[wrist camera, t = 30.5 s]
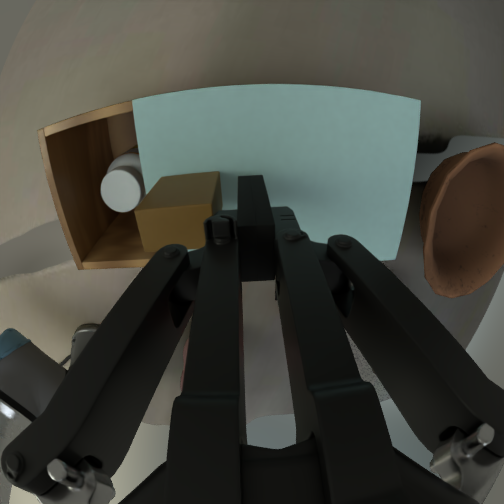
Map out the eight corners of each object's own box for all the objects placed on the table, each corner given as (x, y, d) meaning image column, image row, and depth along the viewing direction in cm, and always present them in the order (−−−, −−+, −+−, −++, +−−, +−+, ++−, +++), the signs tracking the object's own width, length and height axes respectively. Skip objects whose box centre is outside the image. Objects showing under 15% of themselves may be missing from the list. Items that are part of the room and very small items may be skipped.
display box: (122, 211, 34) (78, 269, 23) (103, 110, 26) (36, 130, 15) (272, 199, 34) (288, 259, 23) (269, 87, 26) (290, 84, 15)
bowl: (358, 170, 32) (401, 205, 23) (468, 100, 25) (523, 116, 16) (407, 277, 42) (436, 323, 33) (493, 213, 35) (530, 245, 26)
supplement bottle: (129, 139, 28) (91, 161, 20) (173, 140, 28) (148, 161, 20) (130, 182, 31) (96, 217, 23) (172, 184, 31) (149, 221, 23)
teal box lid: (166, 268, 22) (149, 323, 17) (135, 99, 15) (90, 107, 10) (391, 254, 23) (424, 301, 17) (415, 99, 15) (472, 112, 10)
